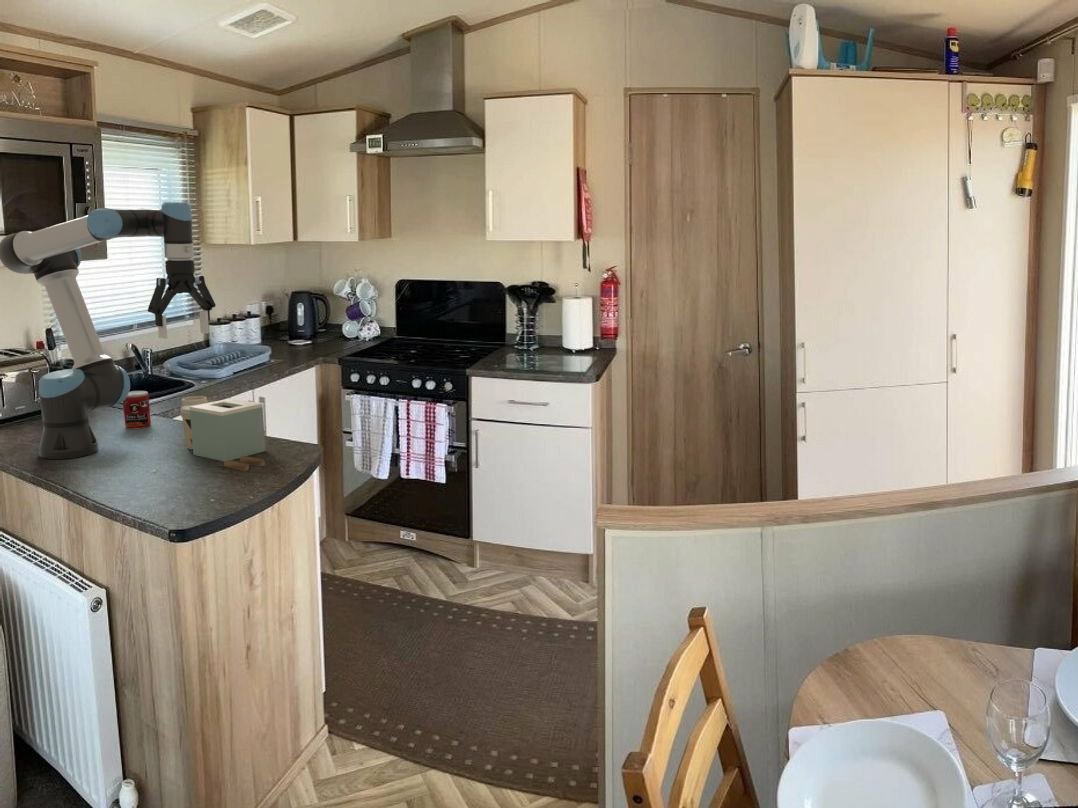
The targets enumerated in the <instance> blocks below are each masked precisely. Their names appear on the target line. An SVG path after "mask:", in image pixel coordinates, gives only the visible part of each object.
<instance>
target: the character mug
mask: <svg viewBox="0 0 1078 808" xmlns="http://www.w3.org/2000/svg"><path fill="white" fill-rule="evenodd" d="M205 403H210V402H209V401H208V397H207V396H204V395H203V396H202V395H199V396H194V395H193V396H187V397H183V398H181V407H180V410H181V409H182V407H184V406H187V405H192V404H205ZM180 417H181V418H182V413H181V412H180Z"/></svg>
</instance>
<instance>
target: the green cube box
mask: <svg viewBox="0 0 1078 808" xmlns="http://www.w3.org/2000/svg"><path fill="white" fill-rule="evenodd" d="M190 419H191V431H192V443H193V450H192V452H193V456H199V457H202V458H206V459H210V460H211V459H212V460H216V461H220V462H224V461H227V460H231V461H235V460H237V459H240V457H242V456H248V457H250V456H253V455H255V454H260V453H262V452H266V439H265V437H266V435H265V425H264V421H265V419H264V406H263V403H260V402H256V401H250V400H244V399H236V398H232V397H231V398H226V399H221V400H216V401H210V402H209V403H205V404H200V405H195V406H190Z"/></svg>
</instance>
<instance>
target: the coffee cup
mask: <svg viewBox="0 0 1078 808" xmlns="http://www.w3.org/2000/svg"><path fill="white" fill-rule="evenodd" d="M195 405H200V404H192V405H187V406H184V407H182V406H181V407H182V409H181V408H180V414H181V413H182V417H181V418H182V419H181V420H182V425H183V431H184V438H185V443H186V447H187V449H188V448H189V449H188V450H192V449H193V443H192V431H191V419H190V406H195Z"/></svg>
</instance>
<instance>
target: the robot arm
mask: <svg viewBox="0 0 1078 808" xmlns="http://www.w3.org/2000/svg"><path fill="white" fill-rule="evenodd" d="M138 237H139V238H141V237H151V238H153V237H156V238H157V237H160V238H161V237H162V238H163V250H164V258H165V259H166V260H165V261H164V265H165V273H166V278H164V277H157V278H156V283H155V284H156V285H155V288H154V290H153V293H152V296H151V299H150V302H149V304H148V307H147V312H148V313H151V314H153V315H154V319H155V321H154V322H155V326H156V327H157V329H158V330H157V331H158V338H160V339H168V331H167V329H168V328H167V314H164V312H165V311H166V309H167V308H168V306H169V305H170V304H171V301H172V300H173V298H174V297H175V296H176V295H177V294H189V295H190V296H191V298H192V299H193V300H194V301H195V303H197V305H198V307H200V308H201V309H199V311H198V312H199V325H200V333H201V334H210V333H209V332H210V329H209V328H210V327H209V322H210V321H211V313H210V312H211V311H212V310H213V308H216V306H217V305H216V303H215V301H214V298H213V297H212V294H211V292H210V290H209V289H208V286H207V284H206V280H205V276H203V275H197V274H196V275H195V272H196V269H195V261H194V259H193V258H194V257H195V256H194V241H193V217H192V209H191V205H190V204H189V202H177V201H175V202H174V201H173V202H172V201H169V202H168V201H166V202H165V201H163V202H162V203H161V209H160V208H159V209H158V208H142V207H141V208H108V207H103V208H102V207H101V208H96V209H94V210H91V211H90V212H89V214H87V215H84V216H81V217H79V218H75V219H72V220H69V221H65V222H62V223H58V224H54V225H51V226H49V227H45V228H42V229H38V230H35V231H28V230H22V231H18V232H15V233H11V234H10V233H9V234H8V235H6V236H5V237H3V238H2V240H0V262H1V264H3V265H4V267H5V268H7V269H8V270H10V271H12V272H14V273H17V274H23V275H32V274H33V275H34V277H35V281H36V283H38V284H40V285H41V286H43V287H44V288H45V290H46V293H47V295H48V298H49V301H50V303H51V306H52V309H53V311H54V314H55V316H56V319H57V322H58V323H59V326H60V330H61V331H62V334H63V336H64V340H65V341H66V344H67V347H68V349H69V352H70V354H71V358H72V360H73V363H74V364H73V366H72V368H67V369H66V368H65V369H62V370H56V371H52V372H48V373H46V374H44V375H43V376H41V377H40V379H39V380H38V395H39V400H40V401H39V403H40V410H41V418H42V425H43V430H42V434H41V439H40V441H39V447H38V451H39V452H38V453H39V457H40V458H42V459H46V458H47V460H67V459H73V458H81V457H85V456H89V455H92V454H94V453H96V452H98V451H99V443H98V440H97V438H96V436H95V434H94V432H93V430H92V428H91V425H90V421H89V412H93V411H97V410H101V409H105V408H111V407H114V406H115V405H119V404H122V403H123V401H124V400H125V399H126V397H127V396H128V392H131V391H130V389H131V381H130V377H129V374H128V372H127V371H126V369H124V368H123V367H121V366H119V365H116V364H115V362H114V359H113V357H111V356H109V355H107V354H106V353H105V350H104V348H103V345H102V344H101V343H102V342H101V341H100V338H99V336H98V333H97V330H96V328H95V325H94V322H93V320H92V318H91V314H90V312H89V310H88V307H87V304H86V302H85V299H84V296H83V294H82V292H81V291H82V290H80V286H79V283H78V282H77V281H78V280H77V277H78V275H79V273H80V271H79V266H80V264H81V263H82V260H81V259H82V253H81V249H82V248H84V247H87V246H92V245H95V244H99V243H102V242H106V241H110V240H113V239H117V238H138ZM194 284H196V286H195V285H194ZM167 285H168V286H167ZM166 286H167V288H166ZM196 287H197V288H196ZM198 290H199V291H198ZM199 292H200V293H199Z"/></svg>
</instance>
